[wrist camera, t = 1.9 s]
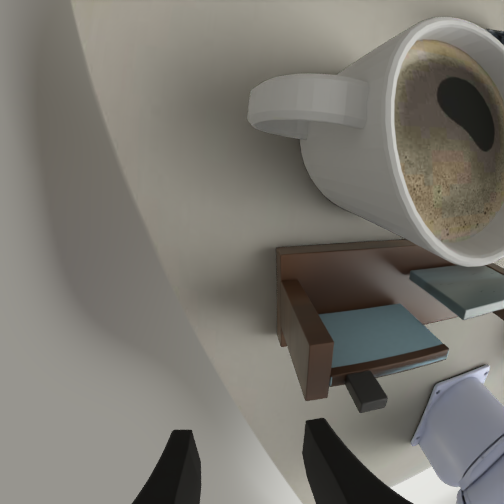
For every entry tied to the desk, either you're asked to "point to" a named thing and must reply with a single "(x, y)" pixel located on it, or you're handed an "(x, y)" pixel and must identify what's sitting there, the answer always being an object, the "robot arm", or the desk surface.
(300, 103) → the mug
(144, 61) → the desk surface
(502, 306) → the window
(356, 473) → the robot arm
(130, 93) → the desk surface
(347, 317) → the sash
